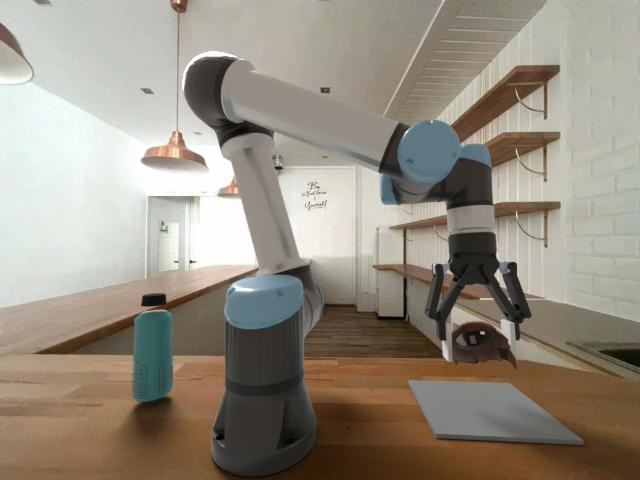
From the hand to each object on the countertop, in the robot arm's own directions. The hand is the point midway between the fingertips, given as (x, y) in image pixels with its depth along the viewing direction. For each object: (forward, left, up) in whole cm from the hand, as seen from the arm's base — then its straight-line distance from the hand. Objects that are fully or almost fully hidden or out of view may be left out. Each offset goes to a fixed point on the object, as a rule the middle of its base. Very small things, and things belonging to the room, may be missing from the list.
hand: (478, 358), depth 47 cm
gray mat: (0, 0, -8) cm, 8 cm away
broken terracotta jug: (0, 0, -1) cm, 1 cm away
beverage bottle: (-59, -2, -9) cm, 60 cm away
